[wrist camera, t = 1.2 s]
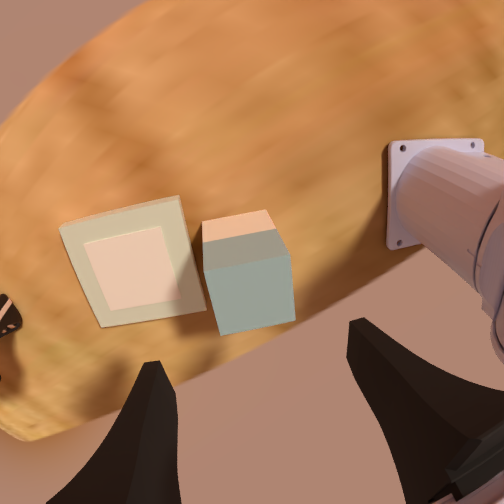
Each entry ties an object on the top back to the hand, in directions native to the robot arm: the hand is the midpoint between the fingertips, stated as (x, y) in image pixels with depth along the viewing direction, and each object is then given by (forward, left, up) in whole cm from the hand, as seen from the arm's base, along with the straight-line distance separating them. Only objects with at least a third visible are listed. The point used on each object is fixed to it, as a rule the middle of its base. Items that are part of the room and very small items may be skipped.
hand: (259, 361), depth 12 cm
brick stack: (0, 0, -11) cm, 11 cm away
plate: (+7, 0, -10) cm, 12 cm away
